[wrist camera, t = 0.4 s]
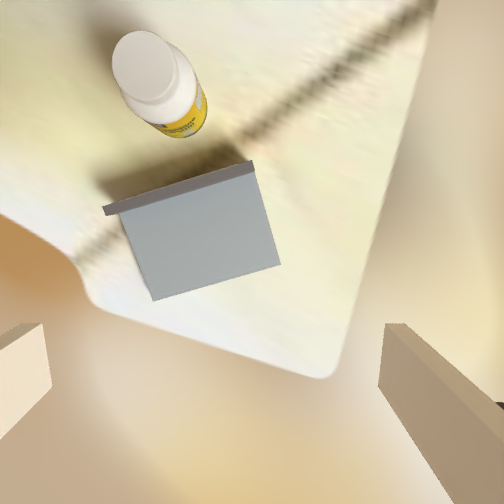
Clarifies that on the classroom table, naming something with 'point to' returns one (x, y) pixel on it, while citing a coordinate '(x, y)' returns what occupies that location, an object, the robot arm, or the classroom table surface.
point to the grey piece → (198, 230)
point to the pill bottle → (159, 84)
